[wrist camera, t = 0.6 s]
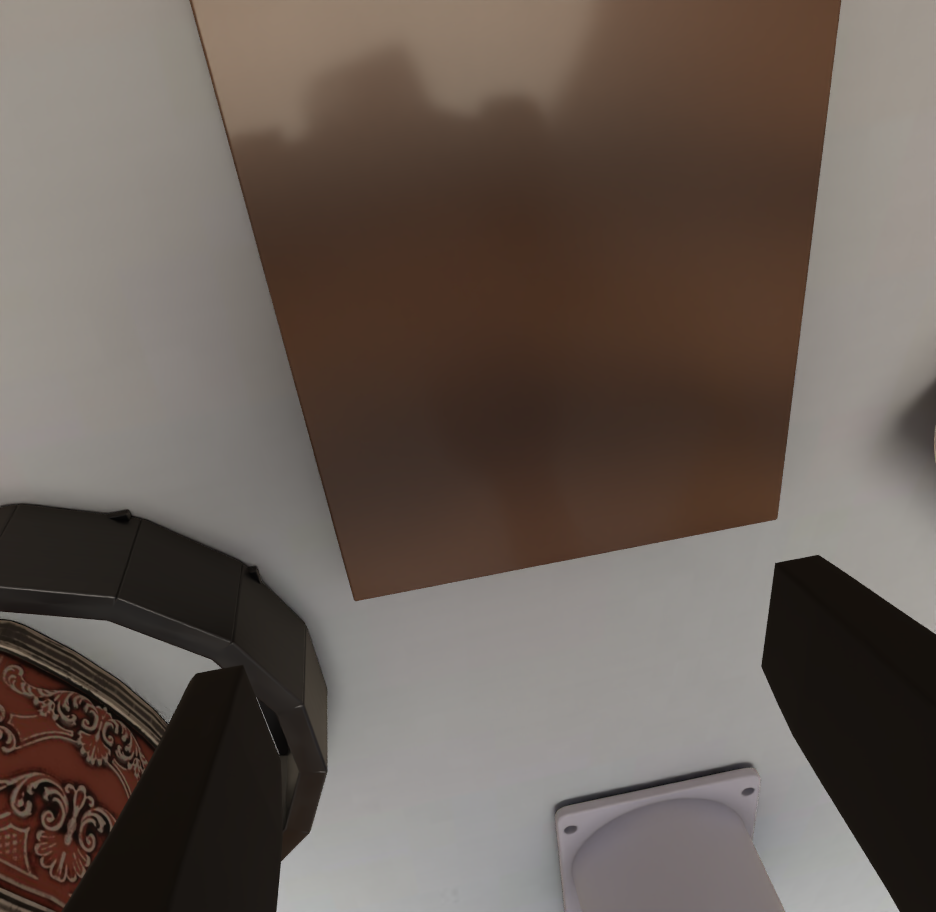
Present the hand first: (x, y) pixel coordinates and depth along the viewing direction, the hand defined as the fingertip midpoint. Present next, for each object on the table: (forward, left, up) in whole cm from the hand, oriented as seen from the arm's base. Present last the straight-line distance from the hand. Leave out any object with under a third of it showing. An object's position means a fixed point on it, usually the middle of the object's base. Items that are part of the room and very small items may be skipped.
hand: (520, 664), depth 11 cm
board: (+4, -3, -10) cm, 11 cm away
